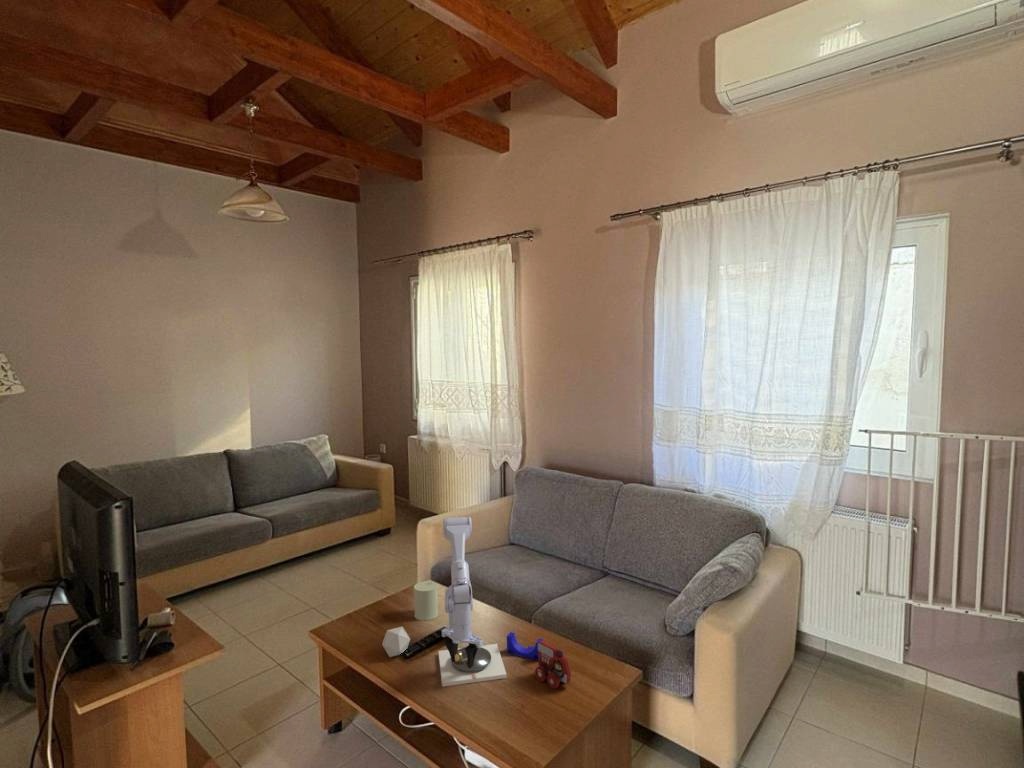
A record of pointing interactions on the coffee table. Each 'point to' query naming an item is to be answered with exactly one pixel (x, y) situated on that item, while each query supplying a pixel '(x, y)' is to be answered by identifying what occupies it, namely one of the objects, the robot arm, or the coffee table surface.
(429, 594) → the can
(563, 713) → the coffee table surface
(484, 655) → the handwheel
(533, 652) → the cable clip
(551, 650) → the toy fire truck
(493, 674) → the wheel base
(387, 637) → the die
